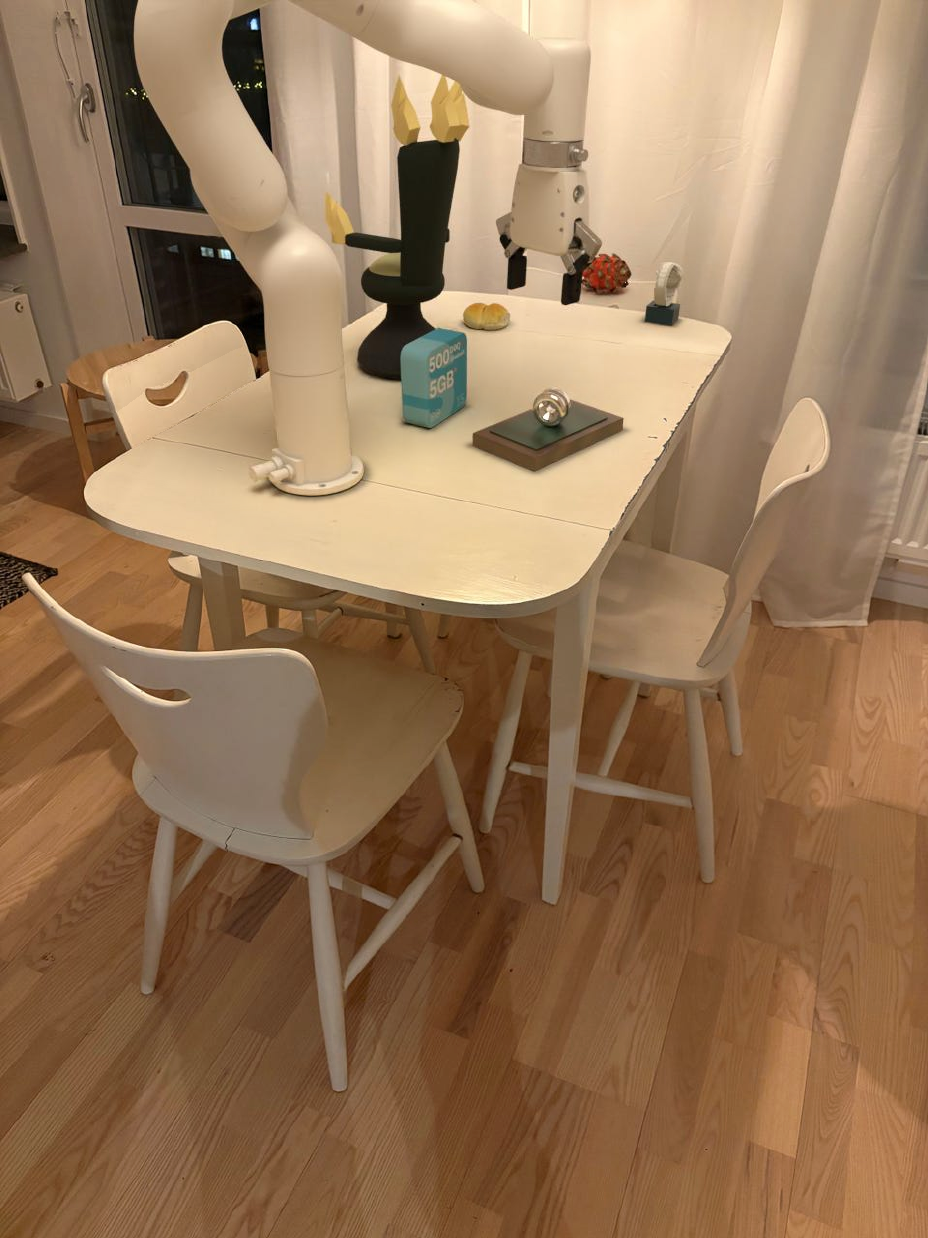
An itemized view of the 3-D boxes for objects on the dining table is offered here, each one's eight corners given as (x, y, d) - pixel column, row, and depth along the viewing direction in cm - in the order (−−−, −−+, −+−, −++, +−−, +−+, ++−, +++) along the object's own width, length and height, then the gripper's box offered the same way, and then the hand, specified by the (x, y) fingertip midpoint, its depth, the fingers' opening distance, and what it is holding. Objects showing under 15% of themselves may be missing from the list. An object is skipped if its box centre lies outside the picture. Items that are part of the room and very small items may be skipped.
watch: (680, 317, 184) (688, 259, 177) (669, 328, 178) (676, 269, 172) (653, 313, 186) (660, 256, 180) (641, 324, 180) (647, 265, 174)
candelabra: (417, 340, 172) (410, 59, 146) (498, 372, 158) (506, 68, 132) (333, 362, 161) (310, 65, 136) (412, 399, 148) (402, 75, 122)
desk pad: (534, 471, 126) (535, 456, 125) (472, 445, 133) (472, 431, 132) (622, 430, 138) (624, 416, 137) (561, 408, 145) (562, 394, 144)
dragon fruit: (632, 303, 197) (578, 305, 201) (638, 271, 199) (585, 273, 204) (624, 275, 189) (569, 278, 194) (632, 242, 192) (576, 246, 197)
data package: (427, 431, 137) (425, 352, 130) (402, 425, 139) (399, 347, 132) (467, 405, 146) (467, 329, 139) (443, 399, 148) (442, 324, 141)
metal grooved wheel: (569, 423, 134) (572, 390, 132) (562, 430, 132) (565, 397, 129) (538, 417, 136) (539, 384, 133) (530, 424, 134) (532, 391, 131)
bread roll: (470, 316, 184) (471, 295, 182) (513, 320, 182) (514, 300, 179) (456, 327, 178) (456, 306, 175) (500, 333, 175) (500, 311, 173)
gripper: (626, 160, 111) (610, 304, 121) (521, 144, 121) (514, 277, 131) (587, 166, 107) (574, 315, 117) (481, 148, 117) (477, 286, 127)
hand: (542, 295), depth 124 cm, fingers open, 9 cm apart
